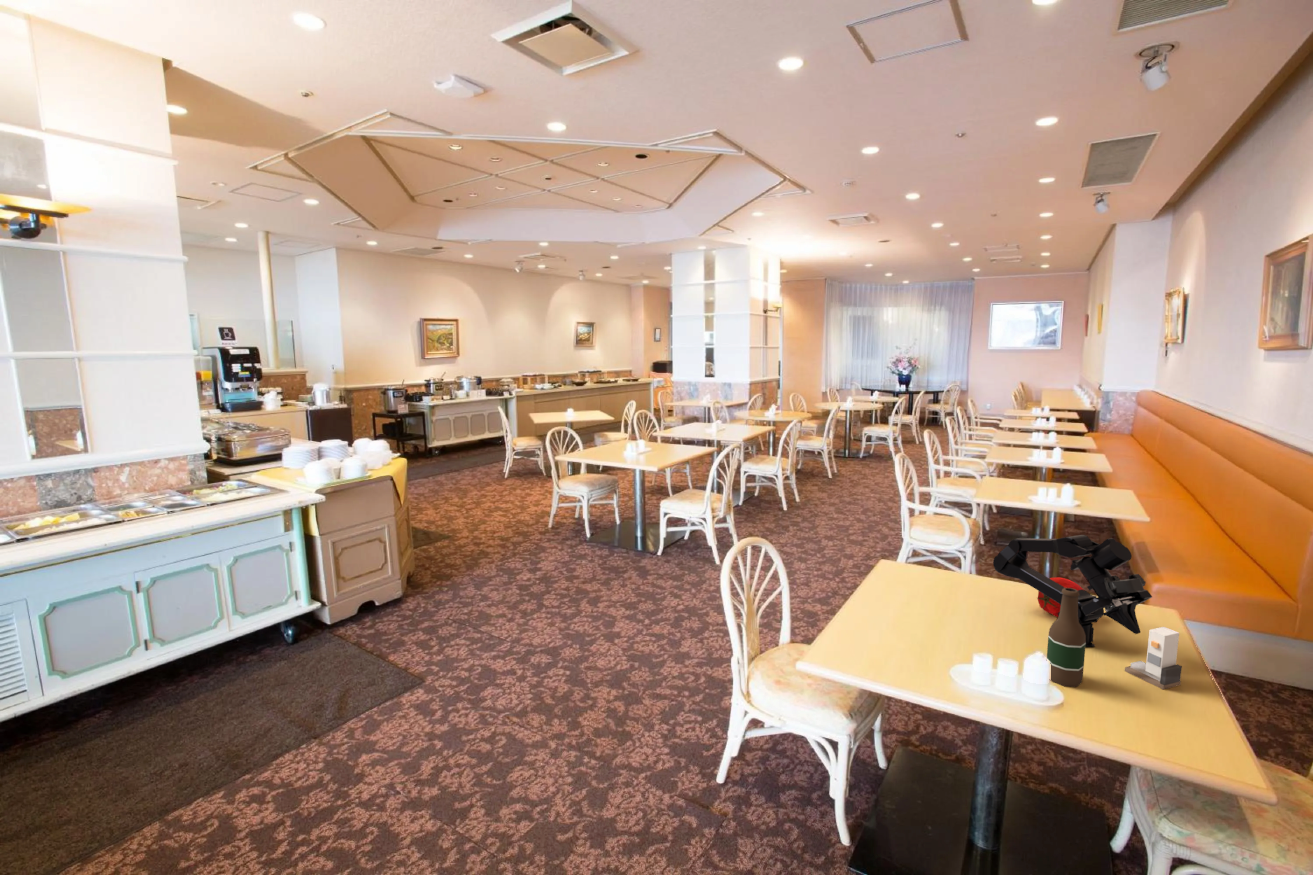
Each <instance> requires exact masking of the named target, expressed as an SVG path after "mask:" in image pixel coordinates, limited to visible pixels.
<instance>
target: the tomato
mask: <svg viewBox="0 0 1313 875" xmlns="http://www.w3.org/2000/svg"><path fill="white" fill-rule="evenodd" d="M1048 578H1049V579H1051V580H1053V581H1054V582H1056V583H1058V584H1060V585H1061V586H1063V587H1065V588H1073V589H1076V590H1082V589H1083V590H1085V589H1084V588H1082V587H1081V585H1080V584H1078V583H1076V582H1074V581H1072V580H1070V579H1068V578H1064V577H1060V576H1059V577H1048ZM1037 591H1038V590H1037ZM1037 602H1038V604H1039V607H1040V608H1041V610H1042V611H1044V612H1046V613H1048V614H1051V615H1052V616H1053V617H1055V618H1058V612H1060V608H1061V605H1060V604H1059V603H1058V602H1056V601H1054V600H1053V599H1051V598H1049V597H1048V596H1046V595H1045V594H1043V593H1041V592H1040V591H1038V592H1037Z"/></svg>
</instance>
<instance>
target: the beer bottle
mask: <svg viewBox="0 0 1313 875" xmlns="http://www.w3.org/2000/svg"><path fill="white" fill-rule="evenodd" d="M1061 592H1062V593H1063V595H1062V601H1061V608H1060V613H1059V617H1057V619H1055V620H1054V622H1052V624H1051V626H1050V627H1049V630H1048V636H1047V637H1048V638H1047V648H1046V650H1047V651H1046V660H1047V659H1048V660H1049V661H1050V664H1051V680H1050V682H1051V683H1054V684H1057V685H1060V686H1063V687H1067V688H1077V687H1078V686H1079V685H1081V684H1082V682H1083V678H1084V670H1085V669H1084V667H1085V657H1086V656H1085V654H1086V647H1085V646H1086V635H1085V632H1084V629H1083V628H1082V626H1081V625H1080V623H1079V619H1078V596H1079V595H1080V594H1079V591H1077V590H1076V589H1073V588H1064V589H1062V591H1061Z"/></svg>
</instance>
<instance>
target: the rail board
mask: <svg viewBox="0 0 1313 875" xmlns="http://www.w3.org/2000/svg"><path fill="white" fill-rule="evenodd" d="M1145 670H1146V662H1144V661H1143V660H1138V661H1134V662H1130V665H1129V666H1125V667H1124V672H1126V673H1128V674H1130V675H1132V676H1134V677H1137V678H1138V679H1141V680H1143V681H1145V682H1147V683H1149V684H1151V685H1153V686H1154V687H1158V688H1160V689H1161V690H1166V689H1170V688H1173V687H1177V686H1181V685H1182V684H1181V682H1182V681H1181V677H1182V665H1179V664H1178V663H1176V665H1173V666H1169V667H1165V668H1162V669H1161V678H1159V677H1157V676H1155V675H1153V674H1151V673H1149V672H1147V671H1145Z"/></svg>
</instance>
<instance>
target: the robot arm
mask: <svg viewBox="0 0 1313 875" xmlns="http://www.w3.org/2000/svg"><path fill="white" fill-rule="evenodd" d="M1029 552H1032V553H1033V552H1034V553H1053V554H1056V555H1059V556H1061V557H1066V558H1069V559H1071V558H1078V557H1082V558H1080V559H1073V560H1072V561H1071V565H1070V570H1071V571H1075V570H1076V571H1077V570H1078V571H1080V573H1081V574H1082V575H1083V577H1084V578H1085V580H1086V581H1087V583H1088V584H1089V585H1088V586H1086V588H1087V589H1088V590H1089V591H1092V590H1093V591H1094V593H1095V595H1093V594H1091V593H1089V592H1088V591H1087V590H1085V589H1084V588H1083V589H1084V590H1083V589H1082V590H1077V591H1079V594H1080V595H1079V596H1078V619H1079V623H1080V625H1081V626H1082V628H1083V629H1084V632H1085V635H1086V646H1085V648H1095V647H1096V644H1094V643H1093V642H1094V630H1095V629H1094V627H1093V626H1094V625H1093V624H1094V623H1097V622H1098V620H1099V619H1101V618H1102V617H1103V616H1106V617H1108V618H1110V619H1112V621H1115V622H1116V623H1118V624H1119V625H1121V626H1122V627H1123V628H1125V629H1127V630H1128V631H1130V632H1132V634H1134V635H1139V634H1141V629H1140V625H1139V622H1138V619H1137V616H1136V608H1137V605H1139V604H1141V603H1144V602H1146V601H1148V600H1150V599H1152V598H1153V596H1152V594H1151V593H1150V592H1149V590H1147V589H1144V588H1145V587H1144V586H1146V583H1147V582H1146V581H1145V579H1144V578H1143V577H1142V575H1140V574H1139V573H1135V574H1129V575H1128V578H1126V579H1120V577H1119V576H1118V575H1112V574H1111V572H1109V571H1114V570H1115V569H1116V568H1118V567H1121V566H1122V565H1124V564H1126V563H1127V562H1128V561H1131V560H1132V558H1133V557H1132V552H1131V551H1130V549H1129V548H1128V547H1127V546H1125V545H1124V544H1122V543H1121V542H1119V541H1116V539H1115V538H1112V537H1111V538H1107V539H1105V540H1104V541H1102V543H1098V542H1095V541H1094V540H1091V538H1089V536H1088V535H1086V534H1078V535H1073V536H1066V537H1065V536H1064V537H1060V538H1032V537H1031V538H1029V537H1028V538H1027V537H1019V538H1013V539H1011V541H1010V542H1009V543H1008V544H1007V546H1005V547H1004V548H1003V549H1002V550H1001V551H999V553H998V554H997V555H996V556H995V557H994V558H993V562H992V565H993V569H994V570H995V571H996V572H997V573H999V574H1001V575H1003V576H1005V577H1009V578H1014V579H1017V580H1018V579H1019V580H1020V581H1022V582H1023V583H1026V585H1028V586H1030V587H1032V588H1033V589H1034V590H1037V591H1040V592H1041V593H1043V594H1045V595H1046V596H1048V597H1049V598H1051V599H1053V600H1054V601H1056V602H1058V603H1059V604H1060V605H1061V601H1062V595H1063V593H1062V592H1061V591H1062V589H1064V588H1065V587H1063V586H1061V585H1060V584H1058V583H1056V582H1054V581H1053V580H1051V579H1049V578H1050V577H1048V576H1046V575H1044V574H1042V573H1041V572H1039V571H1037V570H1035V569H1034V568H1032V567H1030V565H1029V562H1028V561H1027V559H1028V558H1029ZM1089 555H1091V556H1089ZM1059 613H1060V612H1058V617H1059ZM1058 617H1057V618H1058Z"/></svg>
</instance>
